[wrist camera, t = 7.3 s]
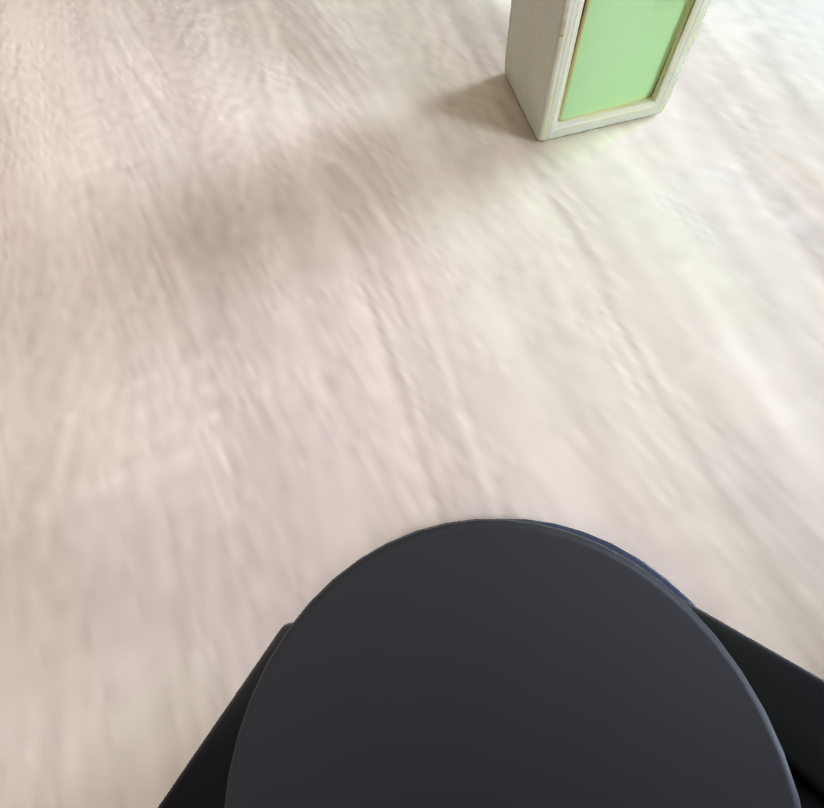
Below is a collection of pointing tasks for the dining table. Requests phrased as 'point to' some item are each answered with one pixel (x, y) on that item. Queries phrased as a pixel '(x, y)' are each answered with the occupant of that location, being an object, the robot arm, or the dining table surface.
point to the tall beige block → (596, 59)
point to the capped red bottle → (503, 687)
